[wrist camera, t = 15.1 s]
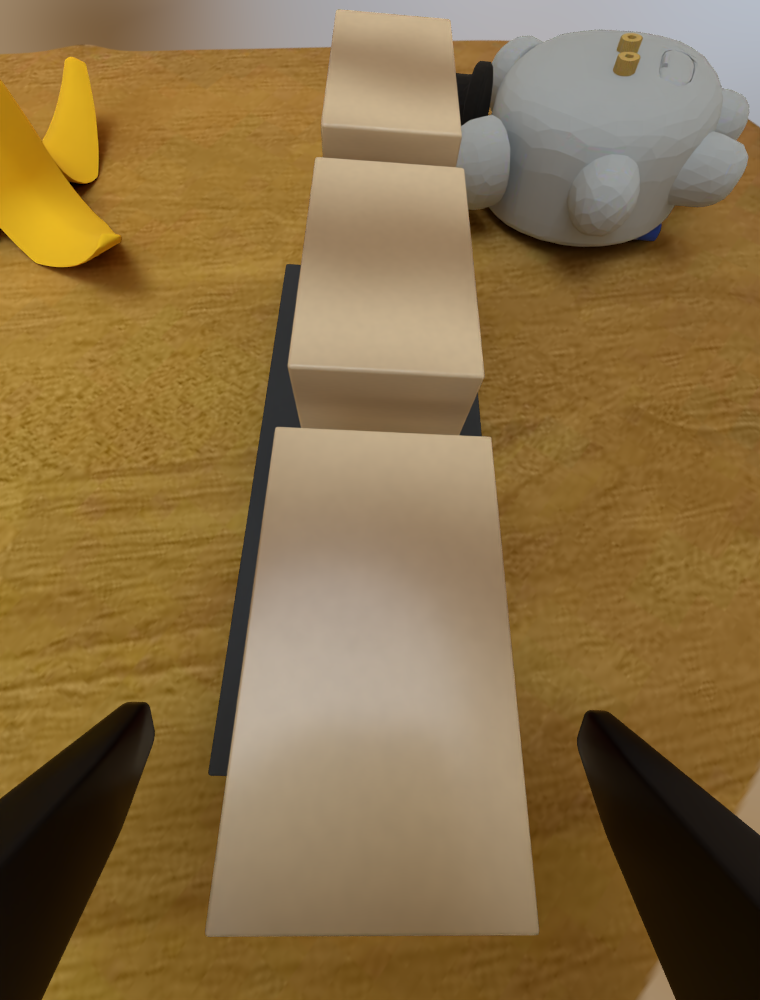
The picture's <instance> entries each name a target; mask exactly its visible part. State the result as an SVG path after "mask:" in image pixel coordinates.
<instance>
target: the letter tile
mask: <svg viewBox="0 0 760 1000" xmlns="http://www.w3.org/2000/svg"><path fill="white" fill-rule="evenodd" d="M205 934H206V936H208V937H235V936H463V935H538V934H539V923H538V913H537V903H536V892H535V882H534V872H533V862H532V851H531V841H530V831H529V821H528V810H527V800H526V790H525V779H524V769H523V759H522V749H521V738H520V728H519V718H518V708H517V697H516V687H515V677H514V667H513V656H512V646H511V636H510V626H509V615H508V605H507V595H506V585H505V574H504V564H503V554H502V544H501V533H500V523H499V513H498V502H497V492H496V482H495V472H494V461H493V451H492V441H491V437H482V436H461V435H440V434H418V433H397V432H376V431H355V430H334V429H312V428H291V427H276V428H275V433H274V441H273V448H272V455H271V462H270V469H269V476H268V484H267V491H266V498H265V505H264V512H263V519H262V527H261V534H260V541H259V548H258V555H257V562H256V570H255V577H254V584H253V591H252V598H251V605H250V613H249V620H248V627H247V634H246V641H245V648H244V656H243V663H242V670H241V677H240V684H239V691H238V699H237V706H236V713H235V720H234V727H233V734H232V742H231V749H230V756H229V763H228V770H227V777H226V785H225V792H224V799H223V806H222V813H221V821H220V828H219V835H218V842H217V849H216V856H215V864H214V871H213V878H212V885H211V892H210V899H209V907H208V914H207V921H206V928H205Z"/></svg>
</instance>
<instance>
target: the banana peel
mask: <svg viewBox="0 0 760 1000" xmlns="http://www.w3.org/2000/svg"><path fill="white" fill-rule="evenodd" d="M98 164H99V149H98V133H97V124H96V115H95V109H94V102H93V97H92V91H91V86H90V81H89V77H88V72H87V67H86V64H85V63H84V62H82V61H80V60H78V59H76V58H74V57H68V58H67V59H66V60H65V64H64V71H63V79H62V84H61V89H60V94H59V99H58V102H57V106H56V110H55V113H54V116H53V119H52V121H51V124H50V126H49V128H48V131H47V133H46V135H45V136H44V138H43V140H42V141H41V139H40V138H39V136H38V134H37V133H36V131H35V129H34V128H33V126H32V125H31V123H30V122H29V120H28V119H27V117H26V116H25V114H24V113H23V111H22V110H21V108H20V107H19V105H18V104H17V102H16V101H15V99H14V98H13V96H12V95H11V93H10V92H9V91H8V89H7V88H6V87H5V85H4V84H3V82H2V81H1V80H0V228H1V229H2V230H3V231H4V232H5V234H6V235H7V236H8V237H9V238H10V239H11V240H12V241H13V242H14V243H15V244H16V245H17V246H18V247H19V248H20V249H21V250H22V251H23V252H24V253H25V254H26V255H27V256H28V257H30V258H31V259H32V260H33V261H34V262H35V263H37V264H41V265H46V266H53V267H73V266H77V265H81V264H83V263H85V262H87V261H89V260H91V259H93V258H94V257H96V256H98V255H99V254H101V253H103V252H105V251H106V250H108V249H110V248H111V247H113V246H115V245H117V244H118V243H120V242H121V240H122V238H121V236H120V235H117V234H114V232H113V231H112V230H111V229H110V227H109V226H108V225H107V224H106V223H105V222H104V221H103V220H101V219H100V218H99V217H98V216H97V215H96V214H95V213H94V212H93V211H92V210H91V209H90V208H89V207H88V205H87V204H86V203H85V202H84V201H83V200H82V199H81V197H80V196H79V195H78V194H77V193H76V191H75V190H74V189H73V187H72V186H71V185H70V183H69V182H75V183H81V184H87V183H90V182H92V181H93V180H95V179H96V178H97V177H98ZM68 181H69V182H68Z"/></svg>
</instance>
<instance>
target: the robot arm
mask: <svg viewBox="0 0 760 1000" xmlns="http://www.w3.org/2000/svg"><path fill="white" fill-rule="evenodd" d="M154 736H155V730H154V725H153V720H152V715H151V710H150V707H149V705H148V704H147V703H146V702H127V703H124V704H123V705H121V706H120V707H118V708H117V709H116V710H115V711H113V712H112V713H111V714H109V715H108V716H107V717H106V718H104V719H103V720H102V721H100V722H99V723H98V724H96V725H95V726H94V727H93V728H91V729H90V730H89V731H87V732H86V733H85V734H84V735H82V736H81V737H80V738H78V739H77V740H76V741H74V742H73V743H72V744H71V745H69V746H68V747H67V748H65V749H64V750H63V751H61V752H60V753H59V754H58V755H56V756H55V757H54V758H52V759H51V760H50V761H49V762H47V763H46V764H45V765H43V766H42V767H41V768H39V769H38V770H37V771H36V772H34V773H33V774H32V775H30V776H29V777H28V778H26V779H25V780H24V781H23V782H21V783H20V784H19V785H17V786H16V787H15V788H14V789H12V790H11V791H10V792H8V793H7V794H6V795H4V796H3V797H2V798H1V799H0V1000H42V998H43V996H44V994H45V991H46V989H47V987H48V985H49V983H50V981H51V979H52V977H53V974H54V972H55V970H56V968H57V966H58V964H59V962H60V960H61V957H62V955H63V953H64V951H65V949H66V947H67V945H68V943H69V940H70V938H71V936H72V934H73V932H74V930H75V928H76V926H77V923H78V921H79V919H80V917H81V915H82V913H83V911H84V909H85V906H86V904H87V902H88V900H89V898H90V896H91V894H92V892H93V889H94V887H95V885H96V883H97V881H98V879H99V877H100V875H101V872H102V870H103V868H104V866H105V864H106V862H107V860H108V858H109V855H110V853H111V851H112V849H113V847H114V845H115V842H116V840H117V838H118V836H119V833H120V831H121V829H122V826H123V824H124V821H125V819H126V816H127V813H128V811H129V808H130V805H131V802H132V800H133V797H134V794H135V791H136V789H137V786H138V783H139V781H140V778H141V775H142V772H143V770H144V767H145V764H146V761H147V759H148V756H149V753H150V750H151V748H152V745H153V741H154ZM577 746H578V751H579V754H580V757H581V760H582V763H583V766H584V769H585V772H586V776H587V779H588V782H589V785H590V788H591V791H592V794H593V797H594V800H595V803H596V806H597V809H598V812H599V815H600V819H601V821H602V824H603V827H604V830H605V833H606V835H607V838H608V840H609V843H610V845H611V848H612V850H613V852H614V855H615V857H616V860H617V862H618V864H619V867H620V869H621V871H622V874H623V876H624V878H625V881H626V883H627V885H628V888H629V890H630V893H631V895H632V897H633V900H634V902H635V904H636V907H637V909H638V911H639V914H640V916H641V918H642V921H643V923H644V926H645V928H646V930H647V933H648V935H649V937H650V940H651V942H652V944H653V947H654V949H655V951H656V954H657V956H658V959H659V961H660V963H661V966H662V968H663V970H664V973H665V975H666V977H667V980H668V982H669V984H670V987H671V989H672V991H673V994H674V996H675V999H676V1000H760V835H759V834H758V833H756V832H755V831H754V830H753V829H752V828H750V827H749V826H748V825H747V824H745V823H744V822H743V821H742V820H741V819H739V818H738V817H737V816H736V815H734V814H733V813H732V812H731V811H730V810H728V809H727V808H726V807H725V806H723V805H722V804H721V803H720V802H718V801H717V800H716V799H715V798H714V797H712V796H711V795H710V794H709V793H707V792H706V791H705V790H704V789H703V788H701V787H700V786H699V785H698V784H696V783H695V782H694V781H693V780H692V779H690V778H689V777H688V776H687V775H685V774H684V773H683V772H682V771H681V770H679V769H678V768H677V767H676V766H674V765H673V764H672V763H671V762H670V761H668V760H667V759H666V758H665V757H663V756H662V755H661V754H660V753H659V752H657V751H656V750H655V749H654V748H652V747H651V746H650V745H649V744H647V743H646V742H645V741H644V740H643V739H641V738H640V737H639V736H638V735H636V734H635V733H634V732H633V731H632V730H630V729H629V728H628V727H627V726H625V725H624V724H623V723H622V722H621V721H619V720H618V719H617V718H616V717H614V716H613V715H612V714H611V713H609V712H607V711H601V710H589V711H587V712H586V713H585V715H584V718H583V721H582V724H581V727H580V730H579V733H578V737H577Z"/></svg>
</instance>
